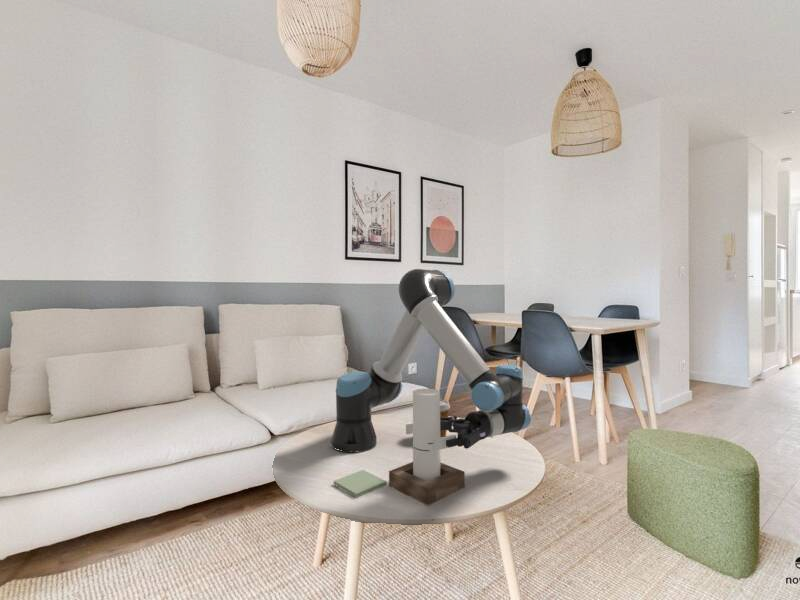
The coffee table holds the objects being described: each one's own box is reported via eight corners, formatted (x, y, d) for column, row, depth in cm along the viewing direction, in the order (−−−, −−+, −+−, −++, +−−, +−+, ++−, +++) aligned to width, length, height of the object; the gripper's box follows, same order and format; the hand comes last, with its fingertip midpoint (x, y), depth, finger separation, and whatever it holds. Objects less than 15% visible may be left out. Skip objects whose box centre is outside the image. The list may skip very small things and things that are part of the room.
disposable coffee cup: (454, 434, 151) (454, 401, 151) (443, 442, 143) (443, 407, 142) (430, 430, 156) (430, 397, 155) (418, 437, 147) (418, 403, 147)
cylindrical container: (444, 490, 108) (444, 393, 108) (418, 494, 106) (417, 396, 106) (434, 479, 115) (434, 387, 114) (409, 482, 113) (409, 389, 112)
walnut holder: (389, 486, 111) (389, 471, 111) (425, 470, 120) (425, 456, 120) (428, 505, 101) (428, 489, 100) (464, 486, 110) (464, 471, 110)
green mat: (333, 484, 112) (333, 480, 112) (363, 473, 119) (363, 469, 119) (356, 497, 105) (356, 493, 105) (386, 484, 111) (386, 481, 111)
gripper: (515, 451, 108) (447, 468, 98) (457, 425, 130) (396, 436, 120) (515, 422, 108) (447, 436, 98) (457, 400, 130) (396, 410, 120)
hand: (419, 436), depth 109 cm, fingers open, 13 cm apart
